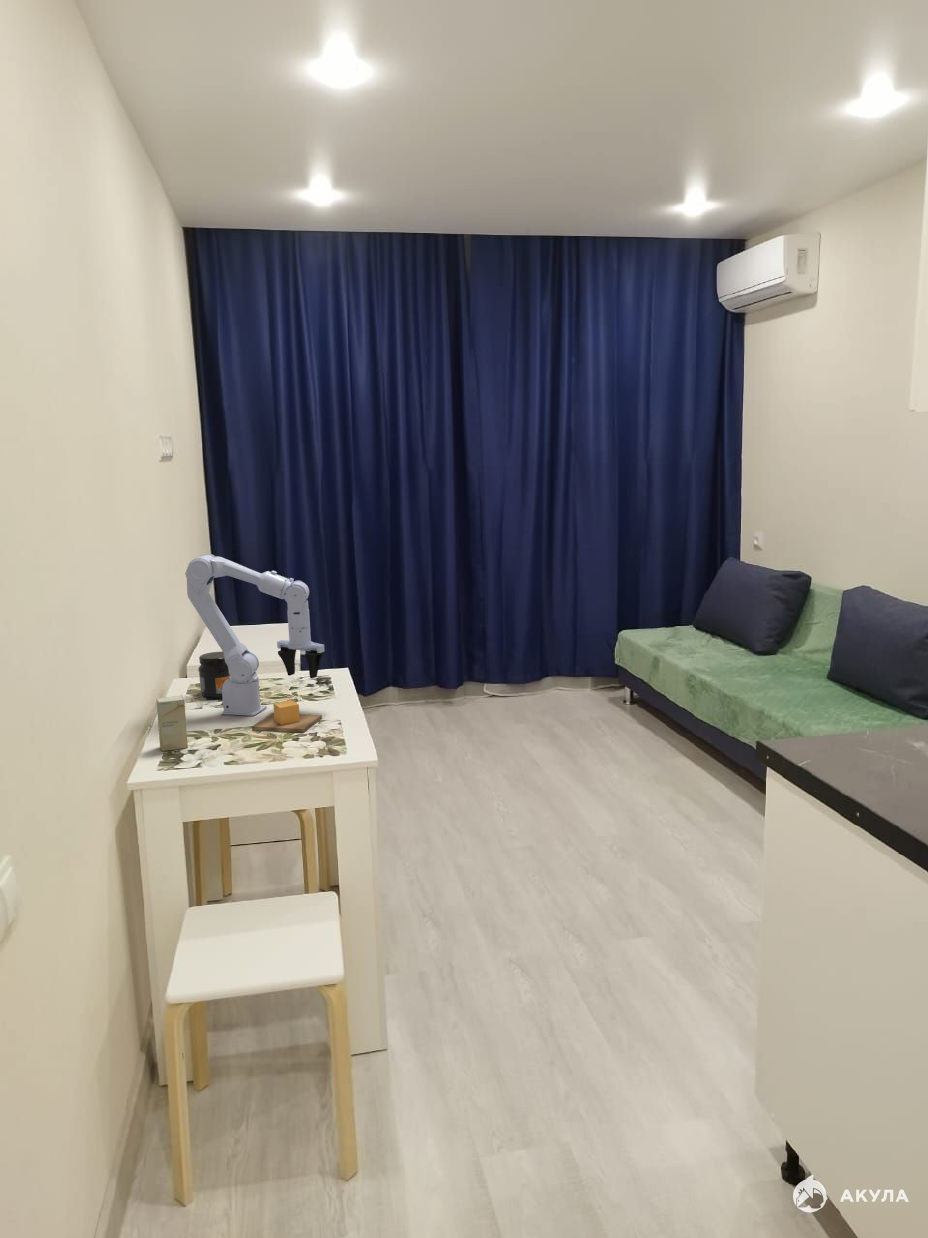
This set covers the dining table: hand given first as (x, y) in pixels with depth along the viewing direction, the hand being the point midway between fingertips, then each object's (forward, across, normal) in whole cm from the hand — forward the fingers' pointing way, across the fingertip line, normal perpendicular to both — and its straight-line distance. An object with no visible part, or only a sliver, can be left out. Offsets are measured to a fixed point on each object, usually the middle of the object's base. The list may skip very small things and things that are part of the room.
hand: (302, 676), depth 242 cm
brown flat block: (+9, +4, -12) cm, 16 cm away
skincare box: (+10, -10, -38) cm, 40 cm away
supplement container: (+10, -32, +2) cm, 34 cm away
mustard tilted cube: (+8, +4, -12) cm, 16 cm away
